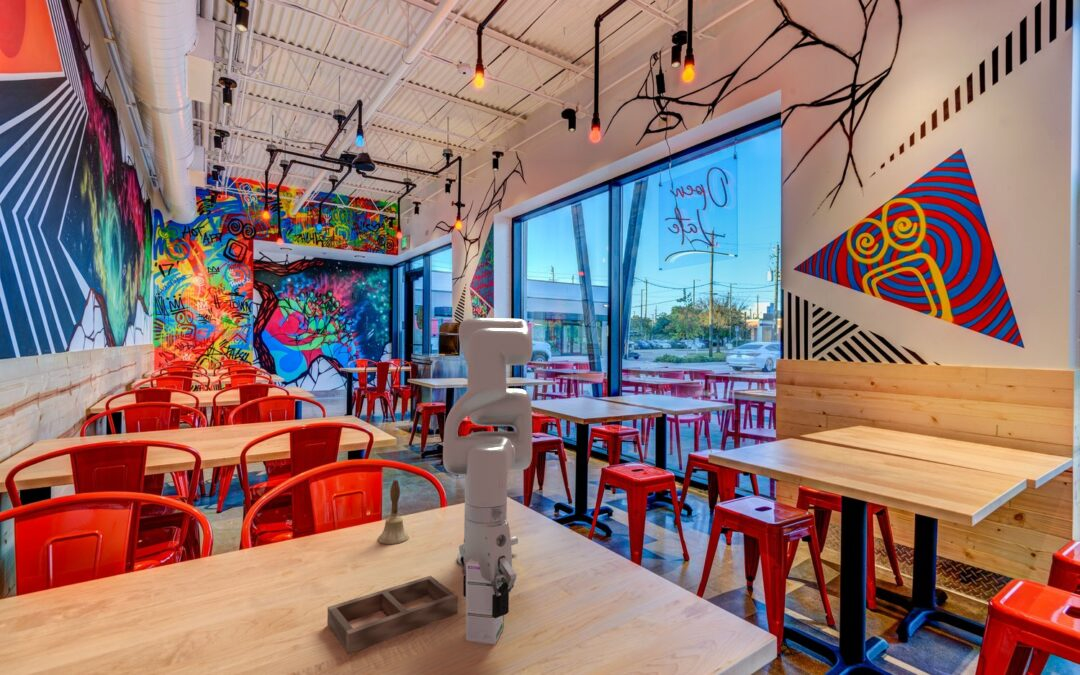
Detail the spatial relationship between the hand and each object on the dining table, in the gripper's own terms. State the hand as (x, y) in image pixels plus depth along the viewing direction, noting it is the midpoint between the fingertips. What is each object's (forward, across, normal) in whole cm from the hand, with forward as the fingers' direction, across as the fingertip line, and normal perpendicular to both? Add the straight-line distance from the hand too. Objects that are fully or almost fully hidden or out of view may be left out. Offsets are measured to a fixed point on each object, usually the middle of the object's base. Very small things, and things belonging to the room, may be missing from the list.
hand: (485, 604), depth 96 cm
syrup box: (+6, 0, 0) cm, 6 cm away
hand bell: (+5, +54, -6) cm, 55 cm away
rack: (+6, +16, +11) cm, 20 cm away
